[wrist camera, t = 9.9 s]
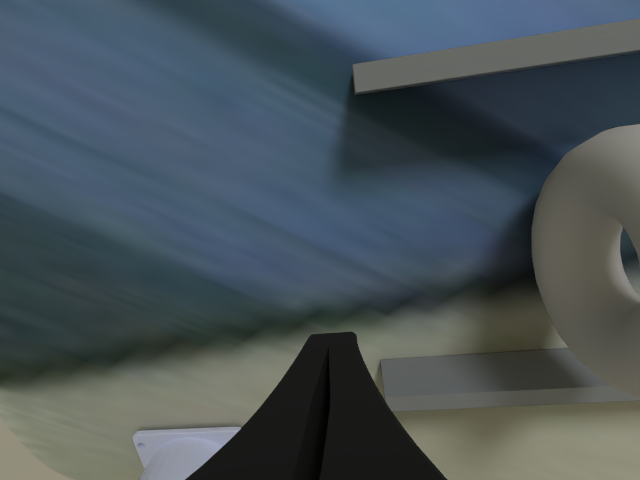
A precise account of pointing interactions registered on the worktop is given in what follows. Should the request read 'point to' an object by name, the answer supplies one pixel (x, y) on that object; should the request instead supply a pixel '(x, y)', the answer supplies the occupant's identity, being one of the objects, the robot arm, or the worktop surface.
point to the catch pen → (505, 367)
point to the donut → (593, 253)
